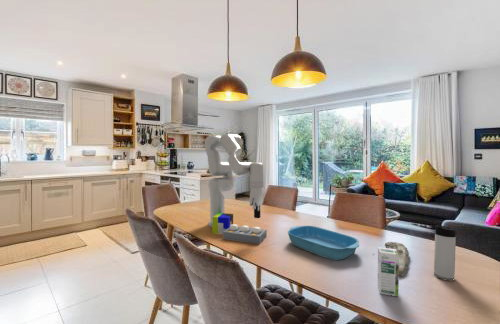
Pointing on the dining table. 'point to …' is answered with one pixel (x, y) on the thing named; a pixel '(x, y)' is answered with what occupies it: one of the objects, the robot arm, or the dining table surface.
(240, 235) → the button board
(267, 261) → the dining table surface
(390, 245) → the long grey stone
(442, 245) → the travel mug
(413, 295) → the dining table surface
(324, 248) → the casserole dish
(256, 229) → the button
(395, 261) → the syrup box
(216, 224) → the puzzle toy
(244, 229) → the middle button
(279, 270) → the dining table surface
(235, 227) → the button
